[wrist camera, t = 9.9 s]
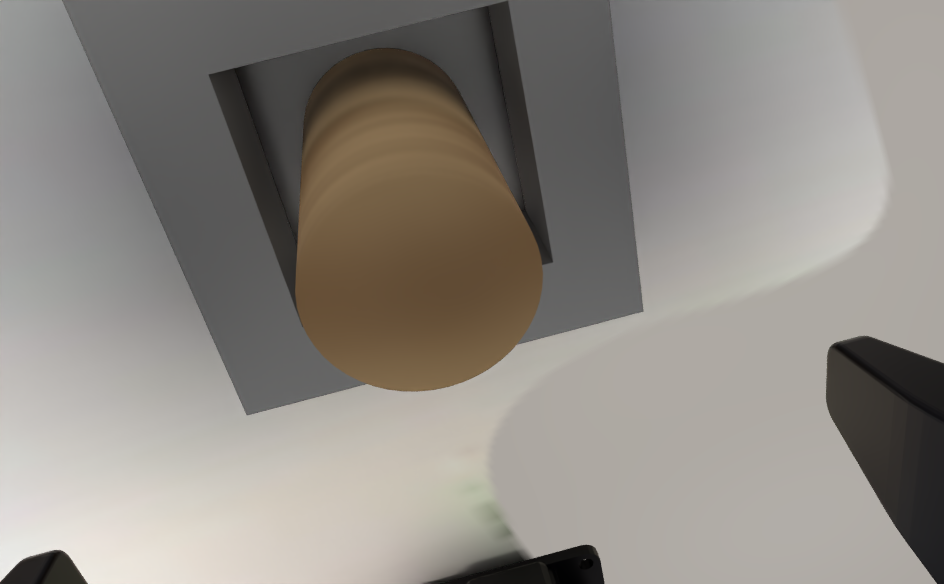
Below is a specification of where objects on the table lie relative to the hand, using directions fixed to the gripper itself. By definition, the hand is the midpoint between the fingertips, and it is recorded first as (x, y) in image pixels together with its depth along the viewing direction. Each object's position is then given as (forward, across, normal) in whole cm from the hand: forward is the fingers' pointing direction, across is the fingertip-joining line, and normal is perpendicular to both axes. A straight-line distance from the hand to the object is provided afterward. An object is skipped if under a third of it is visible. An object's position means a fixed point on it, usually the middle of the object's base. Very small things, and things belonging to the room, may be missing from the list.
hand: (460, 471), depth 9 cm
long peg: (+12, 0, 0) cm, 12 cm away
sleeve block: (+12, 0, 0) cm, 12 cm away
